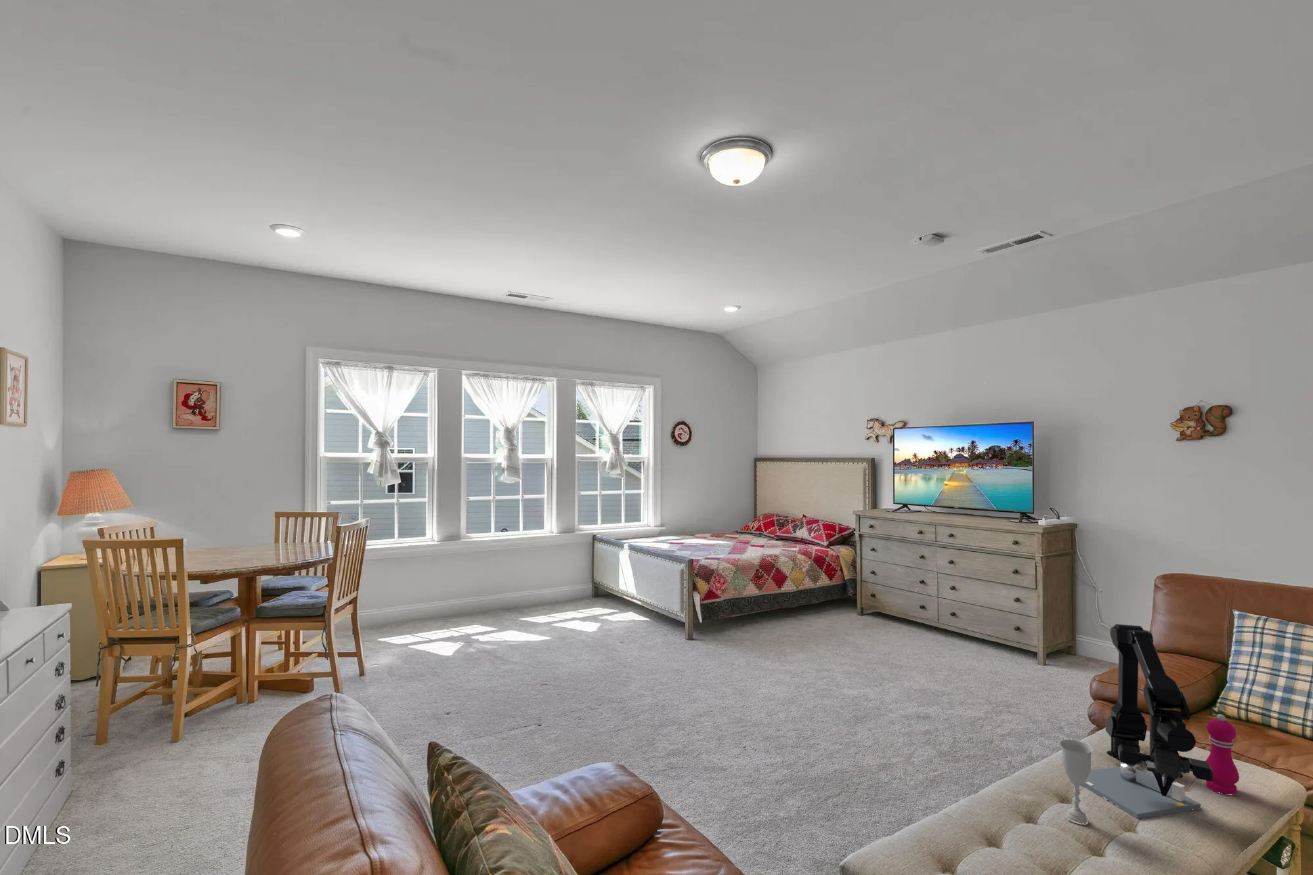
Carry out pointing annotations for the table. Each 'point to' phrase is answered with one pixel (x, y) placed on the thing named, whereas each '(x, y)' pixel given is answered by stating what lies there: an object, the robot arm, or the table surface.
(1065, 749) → the chalice
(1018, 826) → the table surface
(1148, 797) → the mount board
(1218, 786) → the pepper mill
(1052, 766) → the table surface
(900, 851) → the table surface
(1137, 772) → the lock lever
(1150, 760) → the robot arm
